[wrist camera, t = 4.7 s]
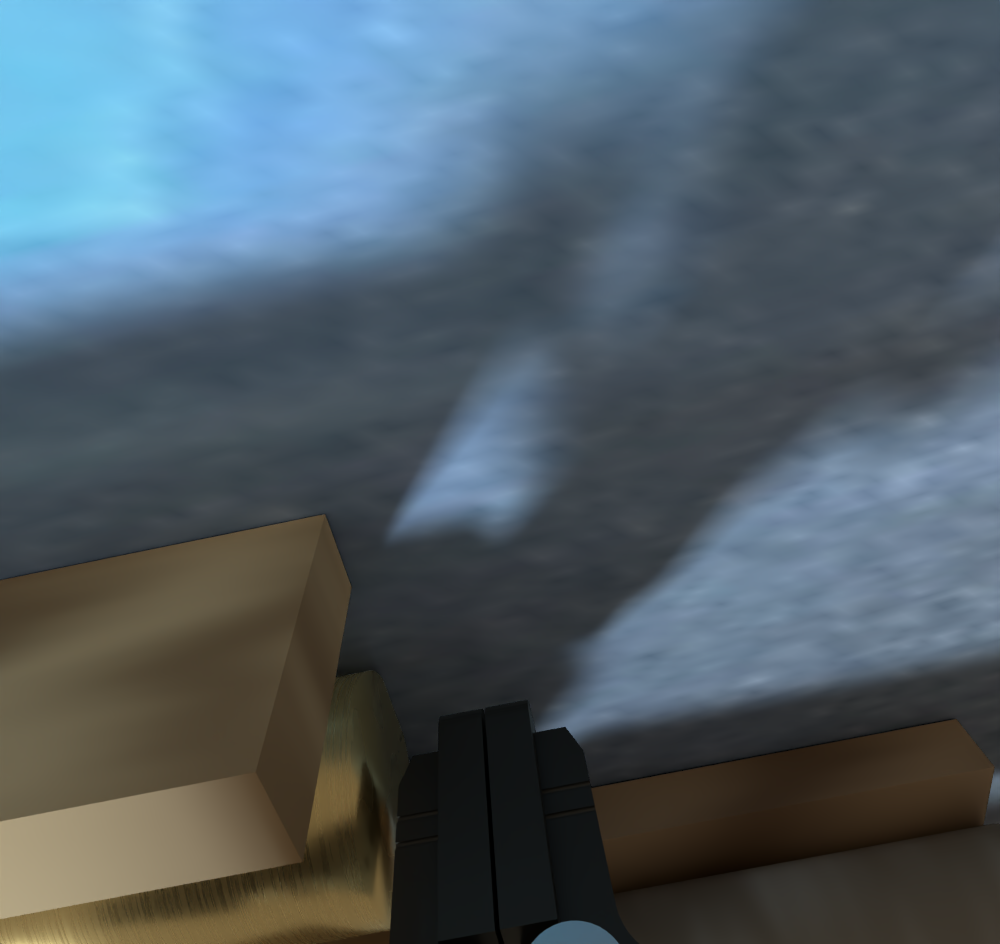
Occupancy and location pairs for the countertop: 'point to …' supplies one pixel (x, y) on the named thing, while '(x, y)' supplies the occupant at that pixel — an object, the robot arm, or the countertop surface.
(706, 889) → the roller stand
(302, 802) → the tan piece
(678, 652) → the countertop surface
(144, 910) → the axle
